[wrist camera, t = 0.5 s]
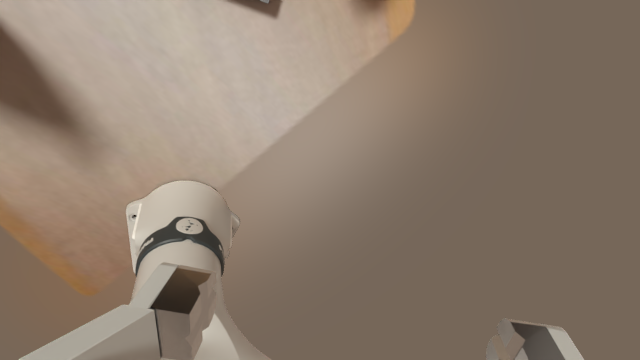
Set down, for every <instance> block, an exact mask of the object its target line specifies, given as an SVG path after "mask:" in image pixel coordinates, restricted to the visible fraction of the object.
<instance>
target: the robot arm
mask: <svg viewBox="0 0 640 360" xmlns="http://www.w3.org/2000/svg"><path fill="white" fill-rule="evenodd" d="M133 215H136V216H137V217H134V216H133ZM126 216H127V224H128V232H129V240H130V248H131V256H132V264H133V271H134V273H135V274H136V282H135V286H134V290H133V294H132V298H131V302H130V304H129V305H121V306H119V307H117V308H115V309H113V310H111V311H110V312H108V313H106V314H104V315H102V316H100V317H98V318H96V319H94V320H92V321H91V322H89V323H87V324H85V325H83V326H81V327H79V328H77V329H75V330H73V331H72V332H70V333H68V334H66V335H64V336H62V337H60V338H59V339H57V340H55V341H53V342H51V343H49V344H47V345H45V346H43V347H41V348H40V349H37V350H35V351H34V352H32V353H30V354H28V355H26V356H24V357H22V358H20V359H19V360H272V359H270V358H268V357H267V356H265V355H264V354H263V353H261V352H260V351H259V350H257V349H256V348H255V347H254V346H253V345H252V344H251V343H250V342H249V341H248V340H247V339H246V338H245V337H244V336H243V334H242V333H241V332H240V331H239V329H238V328H237V327H236V325H235V324H234V322H233V320H232V319H231V317H230V315H229V313H228V311H227V309H226V306H225V302H224V295H223V288H222V278H221V277H222V275H223V271H224V264H225V258H228V256H229V249H230V248H231V247H232V238H233V236H234V234H235V233H236V231H237V229H238V227H239V225H240V219H239V217H238V216H237V215H235V214H234V213H233V212H232V211H230V209H229V208H228V206H227V203H226V201H225V200H224V198H223V197H222V196H221V195H220V193H218V192H217V191H216V190H215V189H213V188H212V187H210V186H208V185H205V184H203V183H199V182H195V181H175V182H171V183H167V184H165V185H162V186H160V187H158V188H157V189H155V190H154V191H153V192H151V193H150V194H149V195H148V196H147V197H145V198H143V199H140V200H137V201H134V202H132V203H130V204H128V205H127V208H126ZM497 329H498V332H499V334H498V335H496V336H494V337H493V338H491V340H490V342H489V344H488V346H487V355H486V358H487V360H584V359H583V358H582V356H581V355H580V353H579V351H578V350H577V348H576V347H575V345H574V343H573V342H572V340H571V339H570V337H569V336H568V334H567V332H566V331H564V329H562V328H561V327H557V326H550V325H544V324H537V323H530V322H524V321H518V320H511V319H503V320H501V321H500V323H499V325H498V326H497Z"/></svg>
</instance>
